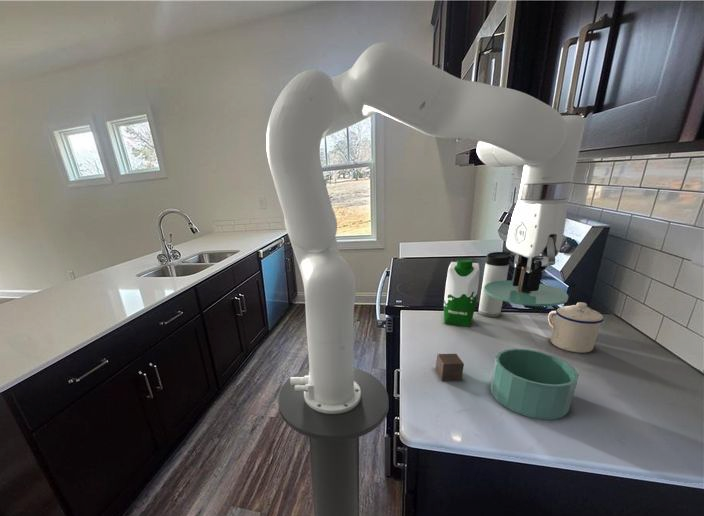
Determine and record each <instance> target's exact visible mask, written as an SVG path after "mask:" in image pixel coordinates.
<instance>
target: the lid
mask: <svg viewBox="0 0 704 516" xmlns="http://www.w3.org/2000/svg"><path fill="white" fill-rule="evenodd" d="M526 268H527V266H522V267H521V272H520V277H519V283H518V286H513V285H512V279H511V280H508V279H507V280H506V281H495V282H491V283H488V284H486V285H485V287H484V291H485V293H486V294H488V295H489V296H491V297H493V298H496V299H498V300H502V301H503V302H506V303H510V304H514V305H520V306H521V305H522V306H526V307H527V306H529V307H554V306H555V307H556V306H560V305H563V304H566V303H567V302H568V300H569V294H568V293H567V292H566V291H564V290H562V289H560V288H558V287H555V286H553V285H552V286H551V285H548V284H544V283H540V285H539V289H538V291H521V290H520V287H521V282H522V277H523V272H524V271H526Z"/></svg>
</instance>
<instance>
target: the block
mask: <svg viewBox="0 0 704 516" xmlns="http://www.w3.org/2000/svg"><path fill="white" fill-rule="evenodd" d="M464 365H465V364H464V362H463V360H462V359H461V357H459V355H458V354H457V353H437V354H436V361H435V371H436V374H437V375H438V377H439V379H440V380H441V381H445V382H446V381H447V382H448V381H449V382H450V381H455V382H456V381H457V382H458V381H462V380H463V373H464V367H465V366H464Z"/></svg>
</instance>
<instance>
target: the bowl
mask: <svg viewBox="0 0 704 516" xmlns="http://www.w3.org/2000/svg"><path fill="white" fill-rule="evenodd" d="M579 377H580V375H579V373H578V371H577V369H576V368H575V367H574V366H572V365H571V364H570V363H568V362H567V361H565V360H564V359H562V358H559V357H557V356H556V355H552V354H549V353H546V352H544V351H540V350H533V349H530V348H529V349H528V348H509V349H504V350H502V351H500V352H498V353H497V354H496V356H495V358H494V363H493V369H492V375H491V381H490V393H491V395H492V396H493V398H494V399H495V400H496V401H497V402H498V403H499V404H500V405H502V406H503V407H505V408H507V409H509V410H510V411H512V412H515V413H517V414H519V415H521V416H525V417H528V418H532V419H537V420H547V421H548V420H550V421H551V420H558V419H561V418H564V417H565V416H566V415H567V414H568V413H569V411H570V407H571V404H572V401H573V397H574V395H575V394H574V393H575V391H576V387H577V384H578V381H579Z"/></svg>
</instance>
